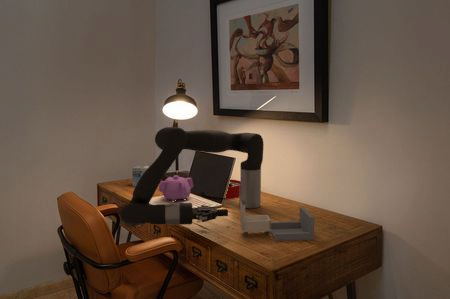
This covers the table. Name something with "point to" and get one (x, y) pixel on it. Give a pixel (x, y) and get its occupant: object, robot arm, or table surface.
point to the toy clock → (233, 189)
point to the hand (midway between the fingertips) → (227, 212)
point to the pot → (176, 187)
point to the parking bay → (294, 228)
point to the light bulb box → (138, 173)
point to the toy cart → (254, 221)
